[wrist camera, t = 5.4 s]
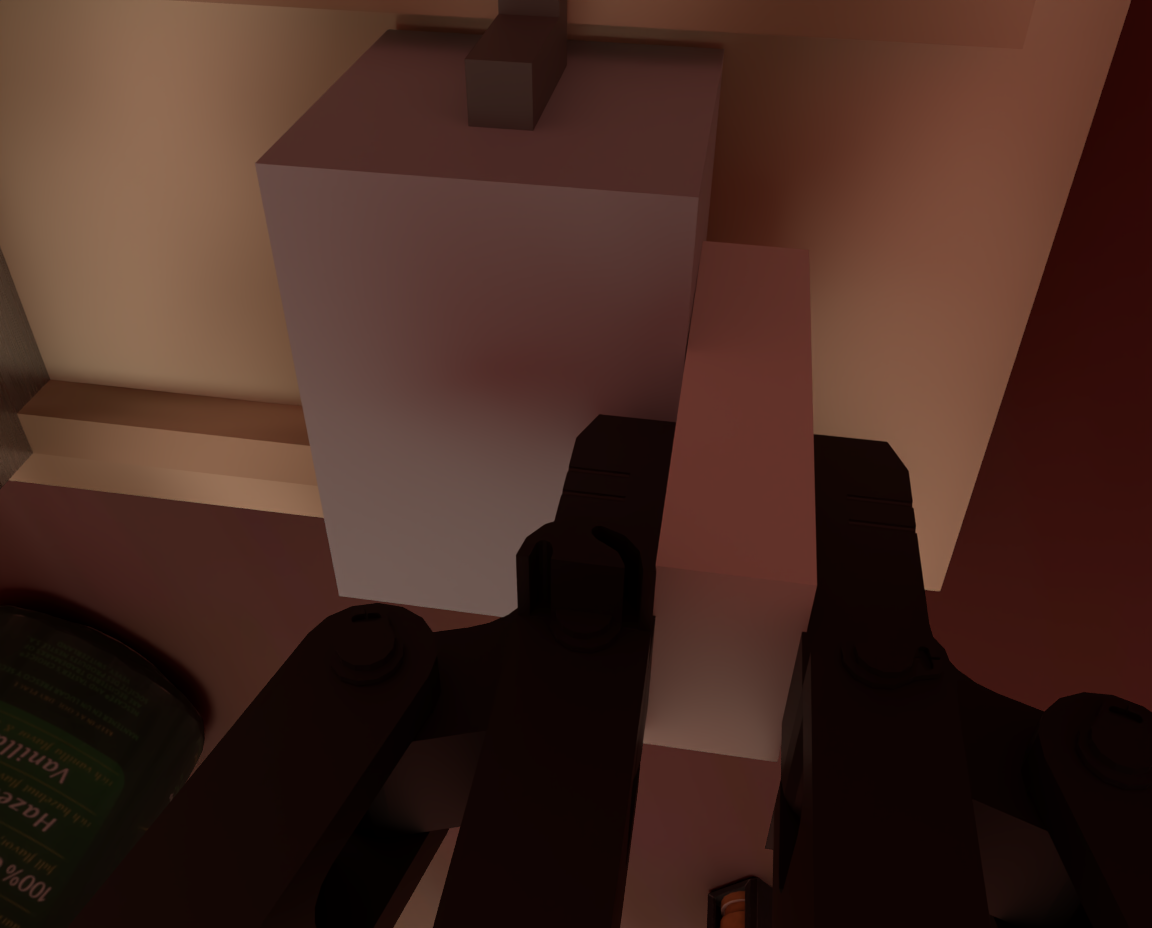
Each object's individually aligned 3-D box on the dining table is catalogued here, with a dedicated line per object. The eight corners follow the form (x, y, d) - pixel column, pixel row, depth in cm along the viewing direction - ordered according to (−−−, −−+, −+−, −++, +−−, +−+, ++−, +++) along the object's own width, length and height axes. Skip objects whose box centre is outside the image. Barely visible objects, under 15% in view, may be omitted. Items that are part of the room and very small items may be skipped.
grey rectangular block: (756, -296, 12) (737, -257, 9) (687, 436, 19) (660, 637, 16) (354, -304, 13) (170, -270, 9) (427, 408, 20) (339, 595, 16)
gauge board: (1187, -275, 13) (1251, -256, 11) (934, 550, 22) (946, 635, 20) (-354, -307, 16) (-505, -297, 14) (-20, 441, 25) (-85, 507, 23)
